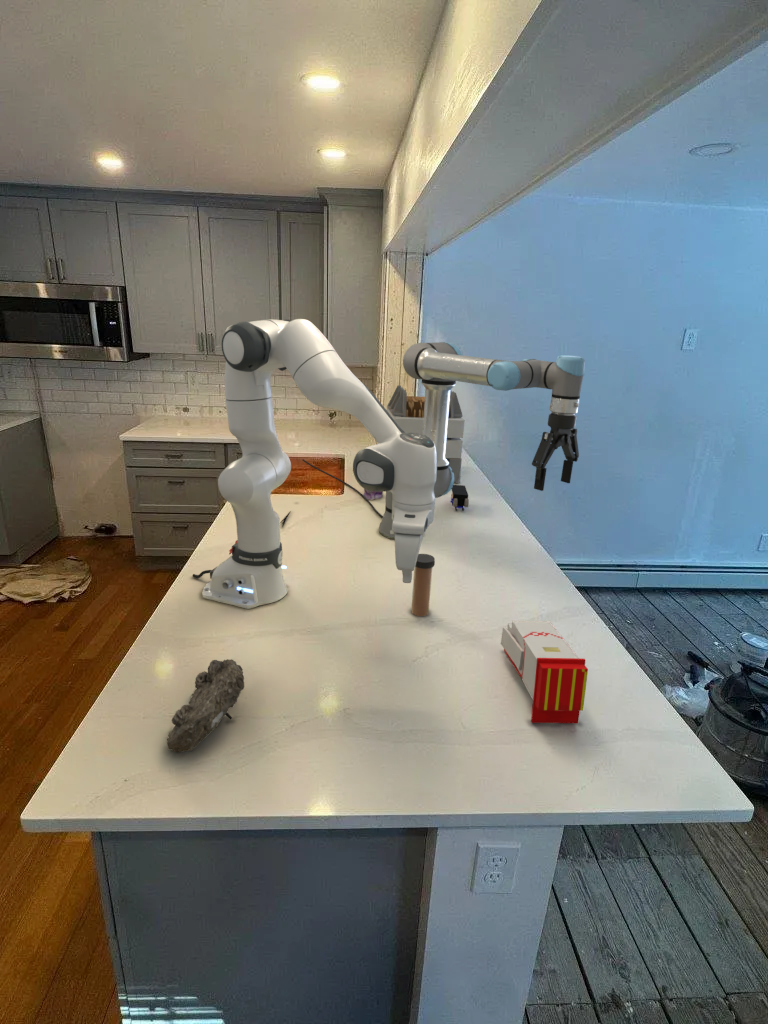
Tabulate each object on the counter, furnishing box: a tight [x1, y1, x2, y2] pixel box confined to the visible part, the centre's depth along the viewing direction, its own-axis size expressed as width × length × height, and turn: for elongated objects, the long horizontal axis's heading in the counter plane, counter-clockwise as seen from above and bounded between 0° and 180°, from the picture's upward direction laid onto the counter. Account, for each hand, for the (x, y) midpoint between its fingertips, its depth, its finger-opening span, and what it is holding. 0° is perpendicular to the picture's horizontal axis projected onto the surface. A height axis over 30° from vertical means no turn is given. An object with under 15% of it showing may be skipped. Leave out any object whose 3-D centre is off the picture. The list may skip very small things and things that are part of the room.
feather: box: [280, 510, 292, 528], centre depth 213 cm, size 2×28×2 cm
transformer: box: [386, 384, 465, 484], centre depth 268 cm, size 34×33×41 cm
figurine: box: [362, 488, 384, 501], centre depth 235 cm, size 9×10×15 cm
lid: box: [415, 553, 436, 569], centre depth 144 cm, size 6×6×2 cm
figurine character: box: [449, 484, 470, 512], centre depth 229 cm, size 7×8×15 cm
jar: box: [410, 567, 433, 617], centre depth 147 cm, size 5×5×15 cm
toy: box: [500, 620, 589, 724], centre depth 121 cm, size 12×13×30 cm
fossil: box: [166, 658, 245, 754], centre depth 106 cm, size 22×10×15 cm
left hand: (409, 572), depth 123 cm, fingers open, 8 cm apart
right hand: (552, 485), depth 166 cm, fingers open, 13 cm apart
